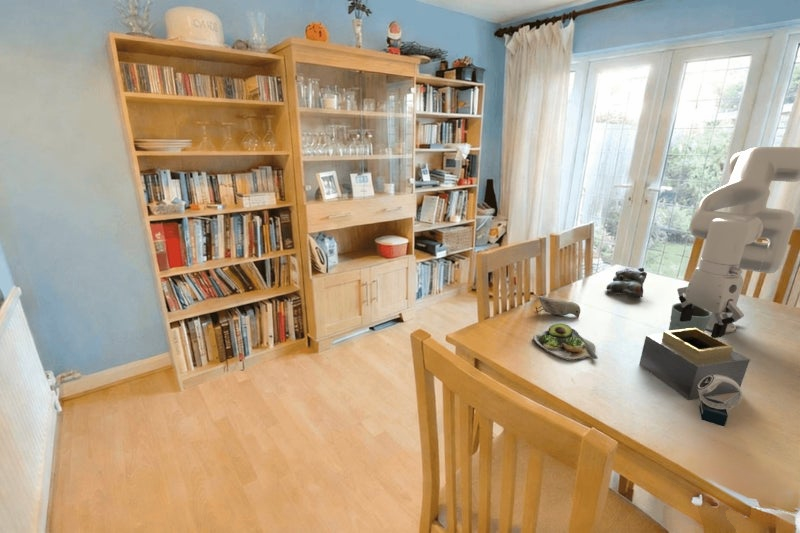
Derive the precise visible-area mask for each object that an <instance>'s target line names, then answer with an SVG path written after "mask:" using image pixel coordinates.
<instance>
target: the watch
mask: <svg viewBox="0 0 800 533" xmlns="http://www.w3.org/2000/svg"><path fill="white" fill-rule="evenodd" d="M721 381H722V382H727V383H730V384H732V385H734V386H735V387H736V388H737V389H738V390H739V392H736V393H735V394H734V395H733V396H732V397H730V398H728V399H727V400H725V401H720V400H717V399H713V398H711V397H710V398H709V397H703V396H702V395H703V394H704V393H709V392H711V391H713V390H714V389H715V388H716V387H717V385H718V384H721V383H722V382H721ZM697 389H698V392H699V397H700V398H699V399H700V403H699V405H698V408H699V415H700V420H701V421H704V422H707V423H711V424H713V425H716V426H719V427H722V428H725V426H726V424H727V421H728V418H729V414H728V410H730V409H732V408H734V407H735V406H737V405H739V403H741V401H742V398H743V393H742V389H741V387H739V385H738V384H737V383H736V382H735V381H734V380H733V379H731V378H729V377H726V376H722V375H713V374H710V375H707V376H705V377H704V378H702V379H701V380H700V381H699V383H698V385H697Z"/></svg>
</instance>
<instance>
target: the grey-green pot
mask: <svg viewBox="0 0 800 533" xmlns="http://www.w3.org/2000/svg"><path fill="white" fill-rule="evenodd" d="M692 307H694V311H693V315H692V318H691V321H684V322H681V321H680V316H681V312H682V308H683V307H681V302H678V303H674V304H672V306H671V314H670V321H669V327H668V330H667V331H672V330H680V329H688V328H697V329H699V330H701V331H703V332H705V331H706V329H705V328H706V327H707V325H708V322H709V320H710V317H711V315H712V313H711V312H709V311H706V310H704V309H702V308H700V307H698V306H695V305H693V306H692Z"/></svg>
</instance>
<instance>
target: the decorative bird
mask: <svg viewBox="0 0 800 533" xmlns="http://www.w3.org/2000/svg"><path fill="white" fill-rule="evenodd" d="M536 296H537V299H538V300H539V303H540V306H539V307H535V310H536V313H537V314H539V312H542V311H544V312H546V313H548V314H551V315H555V316H559V317H560V316H567V315H573V316H575V317H577V318H579V317H580V315H581V306H580V305H579V304H578V303H576V302H573V301H567V300H563V299H561V298H559V299H558V298H549V297H547V296H542V295H536ZM538 309H540V310H538Z"/></svg>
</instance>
